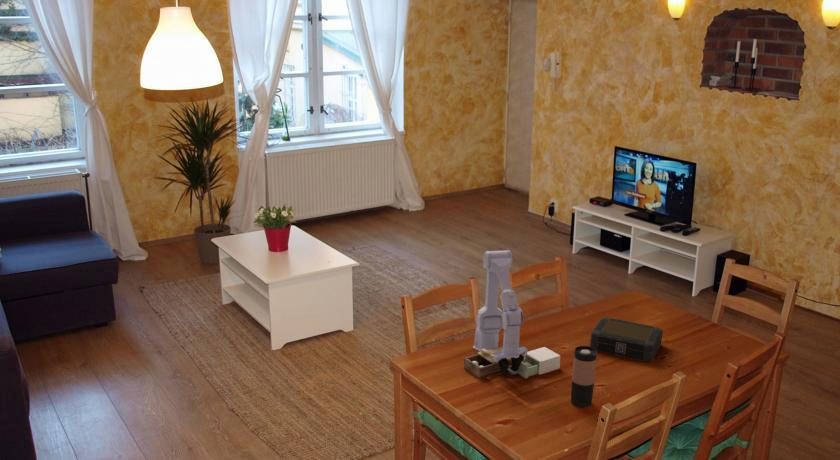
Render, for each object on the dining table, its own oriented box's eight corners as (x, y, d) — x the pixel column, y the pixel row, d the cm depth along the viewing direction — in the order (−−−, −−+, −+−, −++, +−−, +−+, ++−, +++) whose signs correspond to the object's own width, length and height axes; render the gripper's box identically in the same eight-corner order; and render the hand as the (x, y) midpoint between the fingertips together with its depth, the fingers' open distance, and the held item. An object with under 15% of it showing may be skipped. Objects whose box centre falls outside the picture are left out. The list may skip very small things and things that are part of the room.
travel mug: (567, 397, 289) (571, 345, 283) (588, 397, 290) (593, 345, 284) (573, 408, 282) (577, 355, 276) (594, 407, 282) (599, 355, 276)
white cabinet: (523, 368, 310) (524, 352, 308) (543, 362, 316) (544, 346, 314) (539, 377, 303) (540, 361, 301) (559, 371, 308) (560, 355, 306)
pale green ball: (475, 372, 304) (475, 365, 303) (482, 370, 306) (482, 363, 305) (480, 376, 302) (481, 368, 301) (487, 374, 304) (487, 366, 303)
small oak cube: (519, 371, 305) (520, 363, 304) (526, 369, 307) (526, 361, 306) (525, 374, 303) (525, 366, 302) (531, 372, 304) (531, 364, 303)
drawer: (500, 374, 304) (501, 360, 302) (530, 365, 312) (531, 351, 310) (515, 384, 297) (516, 369, 295) (546, 374, 305) (547, 360, 303)
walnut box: (463, 369, 308) (464, 358, 307) (488, 361, 315) (489, 351, 313) (479, 379, 300) (480, 368, 299) (505, 372, 307) (506, 360, 305)
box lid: (477, 354, 310) (477, 348, 310) (502, 347, 317) (502, 341, 316) (493, 364, 302) (494, 358, 302) (518, 356, 309) (519, 351, 308)
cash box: (588, 350, 327) (589, 333, 325) (601, 332, 344) (602, 315, 342) (651, 364, 317) (653, 346, 314) (661, 345, 334) (663, 327, 332)
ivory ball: (468, 368, 308) (468, 360, 307) (475, 366, 310) (475, 358, 309) (473, 371, 305) (473, 363, 304) (480, 369, 307) (480, 362, 306)
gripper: (502, 349, 289) (500, 383, 293) (533, 340, 297) (531, 374, 301) (490, 342, 295) (488, 376, 299) (521, 333, 303) (519, 367, 307)
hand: (509, 374), depth 300 cm, fingers open, 4 cm apart
